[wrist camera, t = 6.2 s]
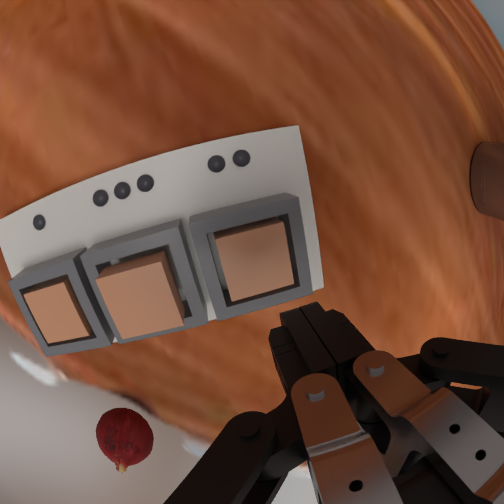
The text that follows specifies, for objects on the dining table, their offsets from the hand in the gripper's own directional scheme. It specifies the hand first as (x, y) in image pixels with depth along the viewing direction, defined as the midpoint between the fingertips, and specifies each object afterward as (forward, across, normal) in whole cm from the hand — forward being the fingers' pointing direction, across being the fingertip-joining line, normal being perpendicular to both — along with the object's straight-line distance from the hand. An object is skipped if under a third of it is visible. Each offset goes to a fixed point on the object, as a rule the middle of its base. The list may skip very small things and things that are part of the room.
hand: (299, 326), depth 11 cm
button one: (+8, +14, -1) cm, 16 cm away
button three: (+7, +7, -1) cm, 10 cm away
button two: (+8, 0, -1) cm, 8 cm away
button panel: (+11, +8, -2) cm, 13 cm away
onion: (+11, +17, +14) cm, 24 cm away
